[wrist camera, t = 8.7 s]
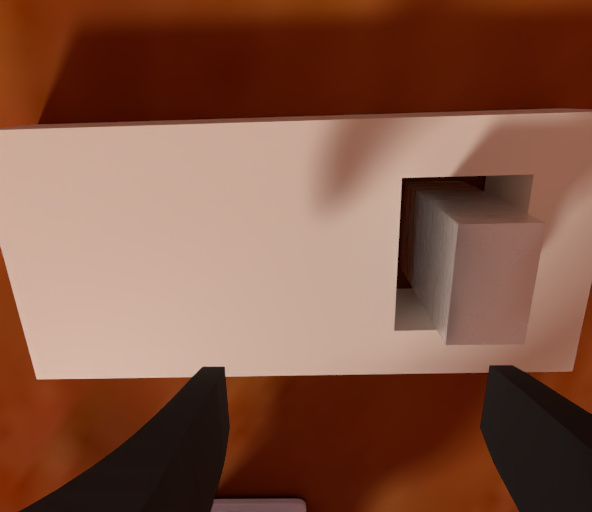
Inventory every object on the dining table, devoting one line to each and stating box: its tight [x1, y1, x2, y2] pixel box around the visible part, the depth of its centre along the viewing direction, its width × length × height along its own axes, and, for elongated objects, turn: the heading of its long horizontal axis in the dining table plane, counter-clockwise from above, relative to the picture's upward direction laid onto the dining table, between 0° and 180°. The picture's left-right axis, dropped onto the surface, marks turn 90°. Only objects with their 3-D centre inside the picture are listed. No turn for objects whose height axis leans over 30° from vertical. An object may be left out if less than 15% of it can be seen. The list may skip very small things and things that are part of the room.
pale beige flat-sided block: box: [0, 108, 592, 379], centre depth 18 cm, size 10×22×4 cm, turn 92°
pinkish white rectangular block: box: [400, 181, 546, 345], centre depth 17 cm, size 4×2×7 cm, turn 1°
